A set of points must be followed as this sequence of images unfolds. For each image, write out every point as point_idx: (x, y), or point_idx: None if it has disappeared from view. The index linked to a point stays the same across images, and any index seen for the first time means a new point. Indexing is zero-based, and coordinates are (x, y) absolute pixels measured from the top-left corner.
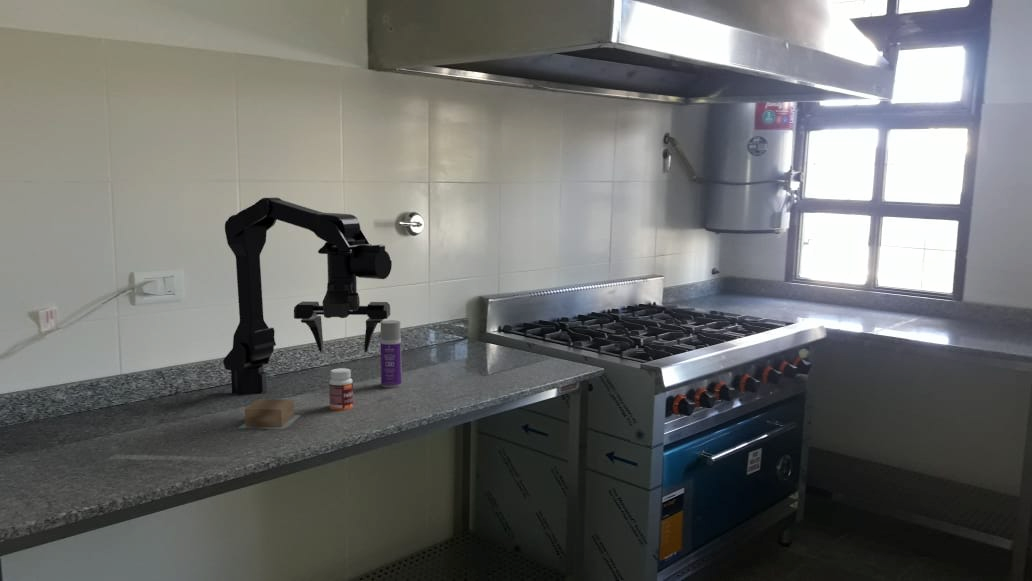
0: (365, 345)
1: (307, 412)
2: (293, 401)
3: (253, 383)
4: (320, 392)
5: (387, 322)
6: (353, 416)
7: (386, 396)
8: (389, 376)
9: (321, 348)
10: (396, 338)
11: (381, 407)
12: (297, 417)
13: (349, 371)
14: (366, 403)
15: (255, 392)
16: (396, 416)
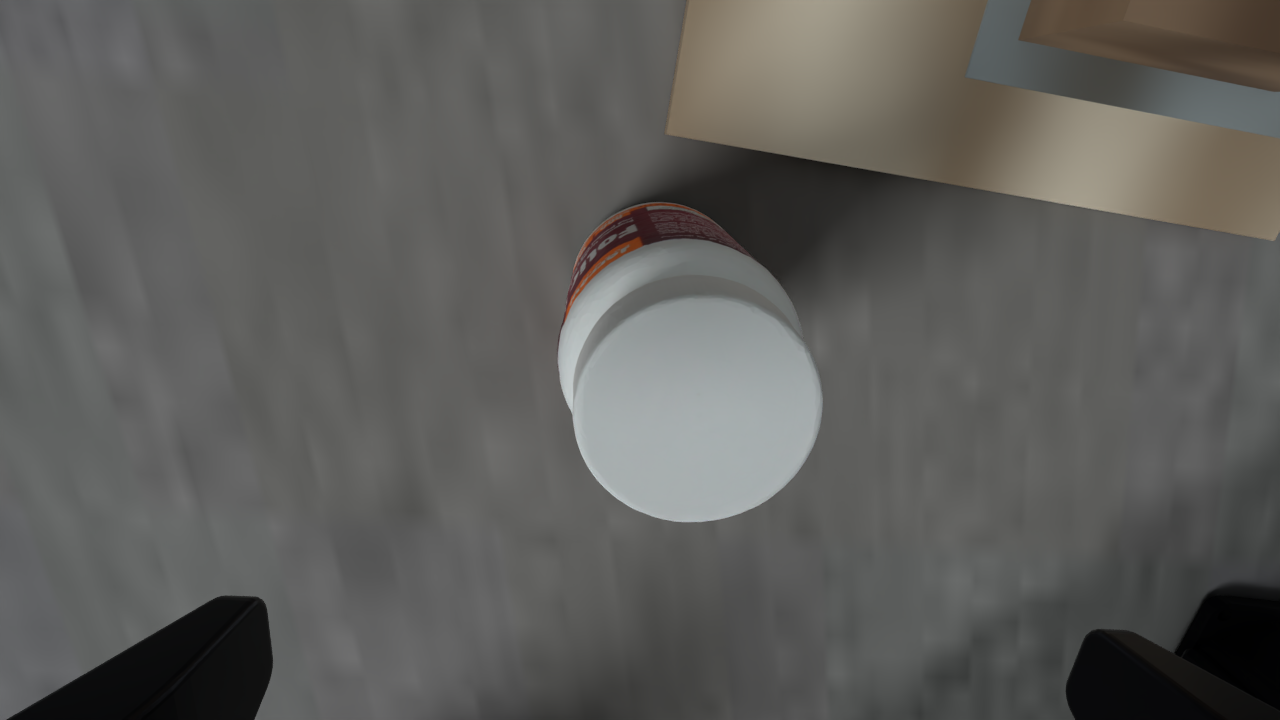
0: (139, 681)
1: (901, 246)
2: (1110, 21)
3: None
4: (825, 689)
5: None
6: (545, 97)
7: (383, 593)
8: None
9: (1140, 673)
10: None
11: (364, 333)
12: (992, 5)
13: (581, 375)
14: (496, 441)
15: (1229, 645)
16: (178, 58)
